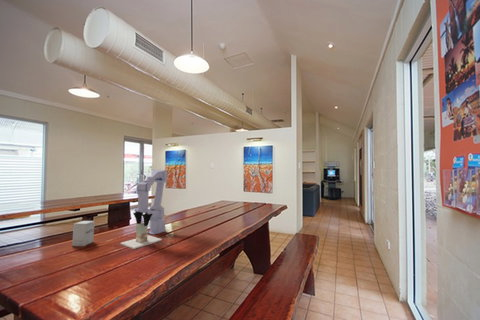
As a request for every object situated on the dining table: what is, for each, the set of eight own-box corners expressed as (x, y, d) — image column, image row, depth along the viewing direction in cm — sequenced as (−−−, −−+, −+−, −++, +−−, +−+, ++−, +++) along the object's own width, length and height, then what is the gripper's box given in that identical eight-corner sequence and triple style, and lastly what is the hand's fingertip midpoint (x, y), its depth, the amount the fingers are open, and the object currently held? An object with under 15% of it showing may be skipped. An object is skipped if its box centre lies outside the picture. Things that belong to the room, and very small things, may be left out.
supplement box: (84, 246, 118) (85, 223, 119) (71, 246, 118) (72, 223, 119) (93, 242, 125) (94, 220, 126) (81, 241, 126) (82, 220, 126)
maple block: (142, 239, 129) (143, 230, 129) (147, 240, 126) (147, 232, 127) (135, 241, 125) (136, 232, 125) (140, 242, 123) (140, 233, 123)
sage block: (143, 230, 129) (143, 222, 129) (147, 232, 127) (147, 223, 127) (136, 232, 125) (136, 224, 126) (140, 233, 123) (140, 225, 123)
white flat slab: (148, 236, 137) (148, 235, 137) (161, 240, 130) (162, 239, 130) (120, 244, 122) (120, 242, 122) (133, 249, 114) (133, 247, 115)
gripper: (130, 201, 128) (129, 224, 127) (144, 204, 120) (143, 228, 119) (141, 200, 134) (140, 222, 133) (155, 202, 126) (154, 225, 125)
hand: (142, 224), depth 126 cm, fingers open, 7 cm apart
